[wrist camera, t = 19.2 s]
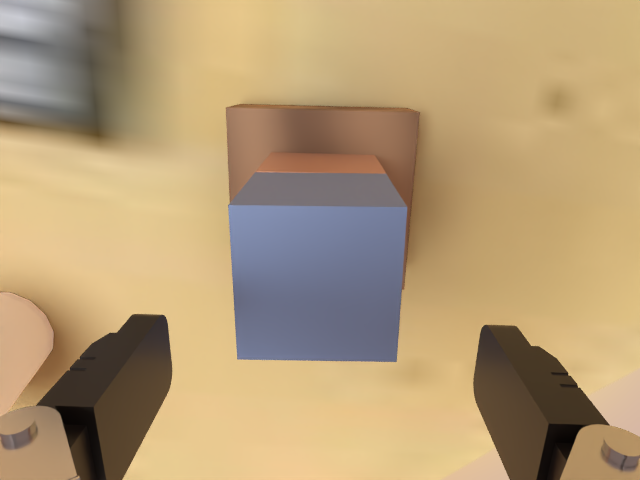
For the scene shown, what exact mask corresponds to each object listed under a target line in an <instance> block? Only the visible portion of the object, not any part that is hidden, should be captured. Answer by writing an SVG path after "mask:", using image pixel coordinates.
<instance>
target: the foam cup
mask: <svg viewBox="0 0 640 480" xmlns="http://www.w3.org/2000/svg"><path fill="white" fill-rule="evenodd" d="M53 338H54V332H53V329H52V327H51V325H50V323H49V321H48V319H47V316H46V315H45V314H44V313H43V312H42V311H41V310H40V309H39V308H38V307H37V306H36V305H35V304H33V303H32V302H31V301H30V300H28V299H25V298H23V297H20V296H18V295H16V294H13V293H11V292H0V416H2V415H4V414H6V413H7V412H8V411H9V409H10V408H11V407H12V405H13V404H14V402H15V401H16V400H17V398H18V397H19V396H20V394H21V393H22V391H23V390H24V389H25V387H26V386H27V385H28V383H29V382H30V381H31V379H32V378H33V376H34V375H35V374H36V372H37V371H38V370H39V368H40V367H41V365H42V364H43V363H44V361H45V360H46V358H47V357H48V355H49V354H50V352H51V351H52V350H53Z"/></svg>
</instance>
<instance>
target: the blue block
mask: <svg viewBox="0 0 640 480" xmlns="http://www.w3.org/2000/svg"><path fill="white" fill-rule="evenodd" d="M228 208H229V225H230V242H231V259H232V276H233V293H234V310H235V327H236V344H237V359H248V360H311V361H375V362H397V348H398V334H399V320H400V305H401V291H402V277H403V262H404V248H405V234H406V219H407V206H406V204H405V203H404V201H403V199H402V198H401V196H400V195H399V193H398V192H397V190H396V188H395V187H394V185H393V184H392V182H391V180H390V179H389V177H388V176H387V174H377V173H277V172H255V173H254V174H253V175H252V177H251V178H250V179H249V180H248V182H247V183H246V184H245V185H244V187H243V188H242V189H241V190H240V191H239V193H238V194H237V195H236V196H235V198H234V199H233V200H232V201H231V202H230V204H229V205H228Z"/></svg>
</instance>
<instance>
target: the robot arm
mask: <svg viewBox="0 0 640 480" xmlns="http://www.w3.org/2000/svg"><path fill="white" fill-rule="evenodd" d="M171 379H172V361H171V352H170V342H169V332H168V323H167V319H166V317H165V316H164V315H150V314H133V315H132V316H131V317H130V318H129V319H128V320H127V322H126V323H125V324H124V325H123V326H122V327H121V329H120V330H119V331H118V332H117V333H109V334H107V335H106V336H104V337H102V338H101V339H99V340H97V341H96V342H94V343H92V344H91V345H90V346H89V348H88V349H87V350H86V351H85V352H84V353H83V354H82V355H81V356H80V360H77V361H76V362H75V363H74V364H73V365H72V366H71V367H70V371H67V372H66V373H65V374H64V375H63V376H62V377H61V378H60V379H59V381H58V382H57V383H56V384H55V385H54V386H53V387H52V388H51V389H50V390H49V392H48V393H47V394H46V395H45V396H44V397H43V398H42V399H41V400H40V401H39V403H38V404H37V405H36V406H30V407H25V408H21V409H17V410H14V411H11V412H9V413H6V414H4V415H2V416H0V480H122V479H123V477H124V475H125V473H126V471H127V470H128V468H129V466H130V464H131V462H132V460H133V458H134V456H135V454H136V452H137V451H138V449H139V447H140V445H141V443H142V441H143V439H144V437H145V435H146V433H147V432H148V430H149V428H150V426H151V424H152V422H153V420H154V418H155V416H156V414H157V413H158V411H159V409H160V407H161V405H162V403H163V401H164V399H165V397H166V395H167V393H168V391H169V388H170V385H171ZM473 384H474V395H475V400H476V403H477V406H478V408H479V410H480V413H481V415H482V417H483V419H484V422H485V424H486V426H487V429H488V431H489V433H490V435H491V438H492V440H493V442H494V445H495V447H496V449H497V451H498V453H499V456H500V458H501V460H502V463H503V465H504V467H505V470H506V472H507V474H508V476H509V479H510V480H640V437H639V436H637V435H635V434H633V433H631V432H629V431H626V430H623V429H621V428H618V427H613V426H610V425H609V424H608V422H607V421H606V420H605V419H604V418H603V416H602V415H601V414H600V412H599V411H598V410H597V409H596V407H595V406H594V405H593V404H592V402H591V401H590V400H589V399H588V397H587V396H586V395H585V393H584V392H583V391H582V390H581V388H578V386H577V383H576V382H575V381H574V380H573V378H572V377H571V376H568V372H567V371H566V370H565V368H564V367H563V366H562V365H561V363H560V362H559V361H558V360H557V358H555V357H554V356H552V355H551V354H549V353H548V352H546V351H545V350H543V349H542V348H540V347H539V346H531V345H530V344H529V342H528V341H527V340H526V338H525V337H524V336H523V334H522V333H521V331H520V330H519V329H518V328H517V327H516V326H505V325H484V326H483V327H482V330H481V333H480V339H479V346H478V353H477V359H476V366H475V373H474V382H473Z"/></svg>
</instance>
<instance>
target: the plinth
mask: <svg viewBox="0 0 640 480" xmlns="http://www.w3.org/2000/svg"><path fill="white" fill-rule="evenodd" d="M419 114H420V112H417V111H414V110H411V109H408V108H377V107H336V106H295V105H254V104H239V105H235V106H231V107H227V108H226V120H227V144H228V169H229V193H230V202H231V201H232V200H233V199H234V198H235V196H236V195H237V194H238V193H239V191H240V190H241V189H242V188H243V187H244V185H245V184H246V183H247V182H248V180H249V179H250V178H251V177H252V175H253V174H254V173H255V172H256V170H257V169H258V168H259V167H260V165H261V164H262V163H263V162H264V160H265V159H266V158H267V157H268V156H269V154H270V153H271V152H282V153H321V154H361V155H375V156H376V158H377V159H378V161H379V163H380V164H381V166H382V167H383V169H384V170H385V172H386V174H387V176H388V177H389V179H390V180H391V182H392V184H393V185H394V187H395V188H396V190H397V192H398V193H399V195H400V196H401V198H402V199H403V201H404V203H405V204H406V206H407V219H406V234H405V248H404V262H403V277H402V289H404V283H405V272H406V261H407V249H408V238H409V227H410V216H411V204H412V193H413V182H414V170H415V159H416V148H417V137H418V125H419Z"/></svg>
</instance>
